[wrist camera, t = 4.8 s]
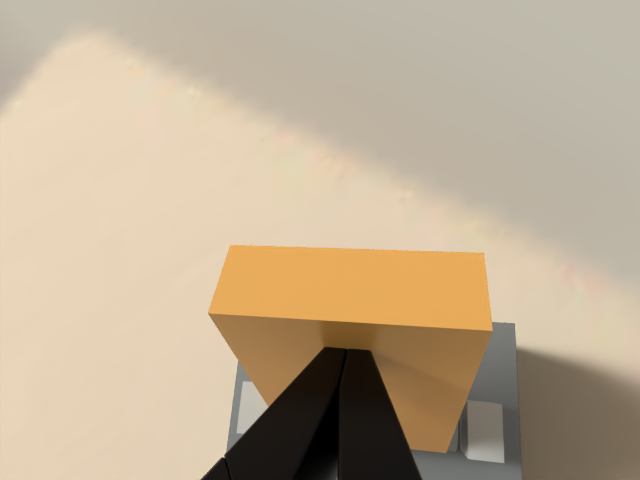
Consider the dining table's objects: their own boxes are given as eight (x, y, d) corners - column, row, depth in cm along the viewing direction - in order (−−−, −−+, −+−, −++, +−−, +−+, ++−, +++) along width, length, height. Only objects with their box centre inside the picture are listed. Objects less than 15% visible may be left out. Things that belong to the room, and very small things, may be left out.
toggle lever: (453, 459, 14) (512, 331, 7) (281, 440, 15) (192, 312, 8) (451, 408, 15) (500, 254, 8) (290, 393, 16) (216, 244, 9)
